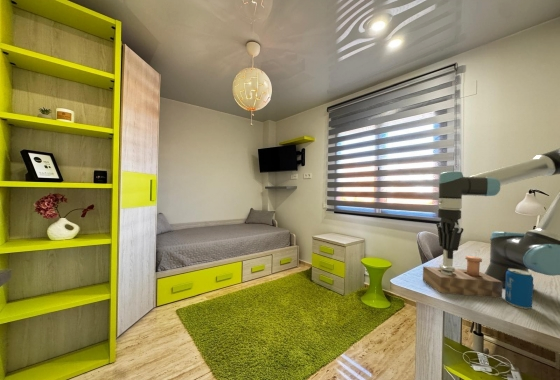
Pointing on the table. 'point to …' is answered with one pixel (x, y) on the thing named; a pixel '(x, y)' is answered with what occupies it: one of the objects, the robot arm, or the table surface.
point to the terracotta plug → (473, 265)
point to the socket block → (462, 283)
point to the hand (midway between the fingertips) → (447, 265)
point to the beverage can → (519, 288)
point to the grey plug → (447, 270)
